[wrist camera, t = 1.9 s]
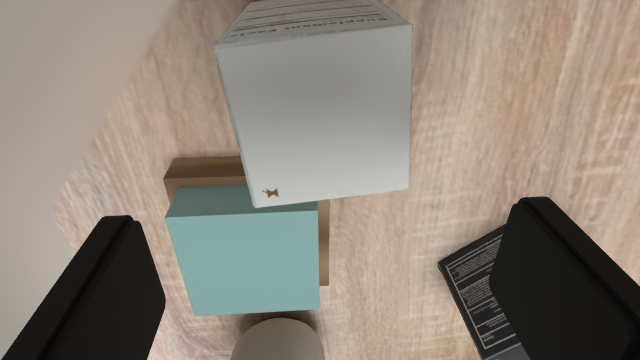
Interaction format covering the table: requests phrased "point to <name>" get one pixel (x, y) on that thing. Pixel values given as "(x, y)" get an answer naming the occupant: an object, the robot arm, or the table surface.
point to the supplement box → (319, 98)
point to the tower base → (231, 174)
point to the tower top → (244, 251)
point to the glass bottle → (279, 342)
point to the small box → (481, 299)
